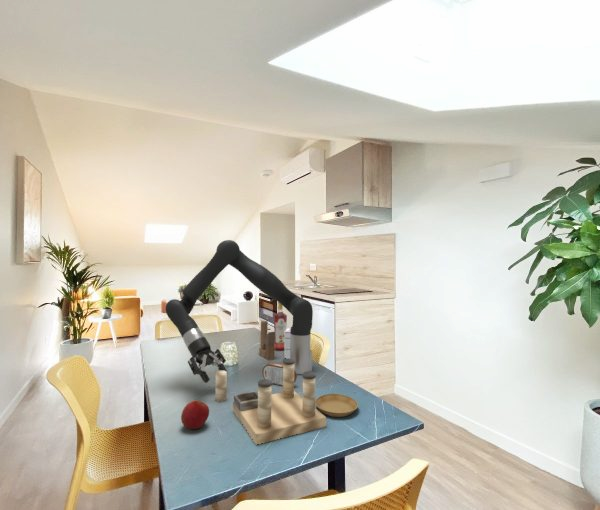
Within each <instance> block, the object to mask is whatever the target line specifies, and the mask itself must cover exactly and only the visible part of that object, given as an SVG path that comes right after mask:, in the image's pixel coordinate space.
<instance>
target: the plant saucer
mask: <svg viewBox="0 0 600 510" xmlns="http://www.w3.org/2000/svg"><path fill="white" fill-rule="evenodd" d="M358 406H359V403H358V402H357V401H356V399H354V398H353V397H351V396H349V395H345V394H341V393H327V394H322V395H320V396H318V397H317V398H315V407H317V408H318V409H319V411H320V412H321V413H322V414H323V415H327V416H328V417H334V418H335V417H336V418H343V417H348V416H349V415H351V414H353V413H354V412H355V411H356V409H358Z"/></svg>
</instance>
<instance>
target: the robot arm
mask: <svg viewBox="0 0 600 510" xmlns="http://www.w3.org/2000/svg"><path fill="white" fill-rule="evenodd" d="M228 265H229V266H231V267H232V268H233V269H236V270H237V271H238V272H240V274H242V276H244V278H245V279H247V280H248V282H250V283H251V284H252V285H253V286H254V287H256V288H257V289H259V291H260V292H262V293H263V294H265V295H266V296H269V297H270V298H271V299H274V300H275V301H277V303H278V302H279V303H281V304H282V305H283V307H284V308H285V309H286V311H288V312H289V313H290V314H291V315H292V326H291V327H290V328H291V331H290V359H294V360H295V363H294V370H295V371H296V374H297V375H303V373H304V372H313V351H312V350H311V332H312V328H313V317H314V316H313V315H314V314H313V313H314V312H313V311H314V310H313V306H312V303H311V302H310V301H309V300H307V299H304V298H302V297H300V296H298V295H297V294H296V293H294V292H293V291H291V290H290V289H289V288H287V286H286V285H285V284H284V283H283V282H282V280H281V279H279V277H277V276H276V275H275V274H274V273H273V272H272V271H270V270H269V269H268V268H267V267H264V266H263V265H262V264H260V263H258V262H256V261H255V260H252V259H251V258H249V257H248V256H247V255H246V254H244V252H242V251H241V250H240V246H239V243H237V242H236V241H235V240H232V239H226V240H223V241H221V242H219V244H217V247H216V251H215V253H214V254H213V256H212V258H211V259H210V261H209V262H208V263H207V264H206V265H205V266H204V267H203V268H202V269H201V270H200V271H199V272H198V273H196V275H195V276H194V277H193V278H192V279H190V281H189V282H188V284H187V285H186V286H185V287H184V289H183V290H182V295H183V296H182V298H181V299H180V300H179V299H170V300H169V301H167V303H165V307H164V308H165V313H166V315H167V317H168V319H170V321H171V322H172V324H173V325H174V327H176V328H177V330H178V333H179V334H180V336H181V337H182V339H183V343H184V344H185V347H186V348H187V350H188V352H189V354H191V355H190V356H191V357H190V358H189V360H187V364H188V366H189V367H190V370H191V372H192V374H193V375H194V376H197V375H199V376H200V378H201V380H202V382H203V383H205V384H207V383H209V382H210V379H211V378H210V377H209V375H208V373H207V371H206V370H205V368H206V367H207V366H213V367H214V366H215V367H217V369H218V371H221V370H223V371H227V372H228V370H227V369H226V367H225V366H224V364H225V363H226V361H227V360H226V358H225V357H224V354H222V352H221V351H220V350H219V349H218V348H217V349H216V350H215V351H213V350H212V349H211V344H210V342H209V341H208V339H207V337H206V336H205V335H204V332H203V331H202V330H201V329H200V327H199V326H198V324H197V322H196V321H195V319H194V318H193V317H191V316H190V314H191V312H192V310H193V309H194V306H195V305H196V303H197V301H198V299H200V297H201V296H202V295H203V294H204V293H205V292H206V290H207V289H208V288H209V287H210V286H211V284H212V283H213V281H214V280H215V279H217V276H218V275H219V274H220V273H221V272H222V271H223V270H224V269H225V268H226V267H228Z"/></svg>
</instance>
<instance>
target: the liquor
mask: <svg viewBox="0 0 600 510" xmlns="http://www.w3.org/2000/svg"><path fill="white" fill-rule="evenodd" d="M277 303H278V306H277V307H278V308H277V313H275V314H274V315H273V326H274V327H273V328H274V329H273V332H275V345H274V346H275V350H276V351H284V331H285V330H287V321H288V319H287V318H288V315H287V314H285V313H284V309H283V307H284V306H283V305H282V304H281V303H279V302H278V301H277Z"/></svg>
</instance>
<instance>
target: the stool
mask: <svg viewBox="0 0 600 510" xmlns="http://www.w3.org/2000/svg"><path fill="white" fill-rule="evenodd" d="M294 363H295V360H294V359H285V358H284V359H282V364H283V386H282V392H278V393H272V392H273V391H272V387H273V384H272V381H271V380H269V379H264V378H262V379H259V380H258V381H257V391H256V390H253V391H246V392H241V393H236V394H233V402H232V411H233V413H234V415H235V416H236V417H237V419H238V421H239V422H240V421H241V422H240V423H241V425H242V424H243V425H242V427H243V428H244V427H245V428H244V429H245V431H246V430H247V431H246V433H247V434H248V433H249V434H248V435H249V437H250V436H251V437H250V438H251V440H252V439H253V440H252V441H253V443H254V442H255V443H254V444H255V446H258V445H257V444H259V445H262V444H261V443H263V444H266V443H269V441H270V442H274V441H277V439H278V440H281V439H280V438H282V439H285V438H288V436H289V437H292V435H293V436H296V434H297V435H300V434H304V433H306V432H307V433H308V432H311V431H315V430H319V429H323V428H326V426H327V416H325V414H324V413H323V412H322V411H320V410H318V409H317V408H316V404H315V400H316V377H317V373H315V372H314V371H311V372H304V373H303V374H302V395H300V394H299V393H298V392H296V391H295V383H294ZM284 437H285V438H284ZM273 440H274V441H273ZM265 442H266V443H265Z"/></svg>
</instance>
